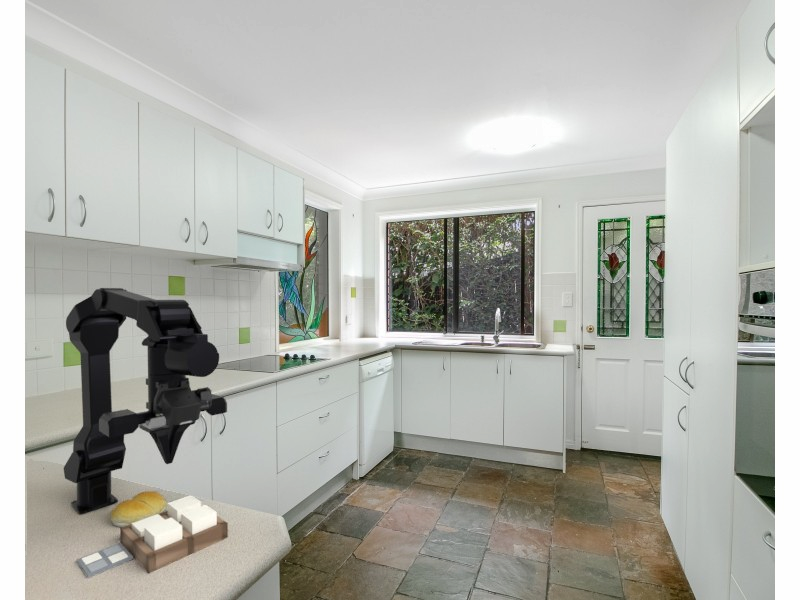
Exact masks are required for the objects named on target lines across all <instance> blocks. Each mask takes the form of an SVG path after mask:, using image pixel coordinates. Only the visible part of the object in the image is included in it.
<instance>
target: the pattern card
mask: <svg viewBox="0 0 800 600" xmlns="http://www.w3.org/2000/svg"><path fill="white" fill-rule="evenodd" d="M133 559H134V557H133V555H132V554H131V553H130V552H129V551H128V550H127V549H126V548H125V547H124V546H123V545H122V544H121V543H120V542H117V543H116V544H113V545H111V546H107V547H106V548H103V549H101V550H98V551H95V552H92V553H90V554H87V555H84V556H82V557H79V558H77V559H76V563H77V565H78V566H79V567H80V569H81V570H82V571H83V574H85V576H86V578H87V579H89V578H91V577H93V576H96V575H98V574H101V573H103V572H105V571H108V570H110V569H113V568H114V567H118V566H119V565H122V564H124V563H127V562H129V561H131V560H133Z"/></svg>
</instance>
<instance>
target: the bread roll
mask: <svg viewBox="0 0 800 600" xmlns="http://www.w3.org/2000/svg"><path fill="white" fill-rule="evenodd" d="M166 510H167V501H166V499H165V497H164V496H163V495H162V494H160V492H156V491H153V490H148V491H147V490H145V491H141V492H139V493H137V494H135V495H134V496H133V497H132V498H131V499H127V500H124V501H121V502H119V503H118V504H117V505H116V506H115V507H113V510H112V512H111V514H110V520H111V522H112V525H113V526H115V527H118V528H122V527H125V526H127V525H130V524H132V523H134V522H137V521H140V520H143V519H145V518H148V517H151V516H154V515H156V514H160V513H163V512H166Z"/></svg>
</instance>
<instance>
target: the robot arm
mask: <svg viewBox="0 0 800 600" xmlns="http://www.w3.org/2000/svg"><path fill="white" fill-rule="evenodd" d="M127 318H129V319H132V320H135V322H136V327H137V328H139V329H140V330H141V331H142V332H144V333H145V334H146V335H147V336H146V337H145V338H144V339H143V341H142V340H141V346H143V347H145V346H146V347H147V378H145V385H146V386H147V398H148V401H146V402H145V409H147V411H140V412H134V411H133V410H131V409H128V408H127V409H120V410H115V411H113V406H112V405H113V404H112V402H113V401H112V381H111V379H112V377H111V356H110V352H111V350H112V348H113V347H114V345H115V344H116V342H117V340H118V339H119V332H120V328H121V326H122V325H123V324H124V322H125V321H126V320H127ZM65 319H66V320H65V327H66V330H67V332H68V335H69V336H68V337H69V341H70V342H71V344H72V345H73V346H74V347H75V348H76V350H77V351H78V352H79V353H80V374H81V377H80V378H81V399H82V400H81V401H82V402H81V403H82V405H81V406H82V427H81V429H80V431H78V434H77V435H76V436H75V438H74V440H73V442H72V443H73V446H72V453H71V454H70V456H69V457H68V459H67V461H66V462H65V465H64V466H63V474H64V479H65V480H68V481H70V482H72V483H74V484H76V499H75V500H73V501H71V502H70V504H71V506H72V507H73V509H74V510H75V511H76V512H77V513H78V514H79V515H83V514H84V513H88V512H91V511H94V510H98V509H102V508H105V507H107V506H110V505H113V504H114V505H115V504H116V503H118V501H119V500H118V498H117V497H116V496H115V495H113V494H112V472H113V471H117V470H121V469H123V465H124V461H125V456H126V455H125V454H126V450H127V448H126V443H125V436H126V435H130V434H133V433H135V432H136V431H137V430H138V428H139V429H140V430H142V431H144V432H146V433H148V434H149V435H150V437H152V439H153V441H154V443H155V445H156V447H157V450H158V451H159V453H160V456H161V457H162V460H163V462H164V463H165V465H170V464H173V462H174V458H175V456H176V453H177V450H178V447H179V444H180V443H181V439H182V437H183V435H184V433H185V431H186V430H187V429H188V428H189V427H190V426H192V425H194V424H195V423H196V421H198V420H199V419H200V417H201V416H200V415H201V412H205V413H207V414H208V415H209V416H216V415H221V414H225V413H228V402H227V400H226V398H225V397H224V396H221V395H217V394H215V393H214V394H213V393H212V389H211V388H209V387H208V386H207V387H201V388H197V389H193V390H192V389H191V386H190V383H191V382H190V378H189V377H187V376H190V377H200V378H204V377H208V376H209V375H211V374H213V373H214V372H215V370H216V369H217V368H218V365H219V362H220V353H219V351H218V349H217V347H216V346H215V345H214V344H213V343H212V342H210V341H209V339H208V338H209V335H208V334H207V333H203V330H202V326H201V325H200V323H199V322H198V320H197V318H196V316H195V314H194V312H193V310H192V308H191V307H190V304H189V302H188V301H186V300H185V299H155V298H151V297H148V296H145V295H141V294H138V293H134V292H131V291H128V290H127V289H124V288H122V287H100V288H97V289H95V290H94V291H93V293H92V294H91V296H89V297H87V298H85V299H83V300H82V301H80V302H78V303H76V304H75V305H73V307H72V309H71V311H70V312H69V313H68V315H67V316H66V318H65Z"/></svg>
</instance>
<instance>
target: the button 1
mask: <svg viewBox="0 0 800 600" xmlns="http://www.w3.org/2000/svg"><path fill="white" fill-rule="evenodd" d="M163 520H165V519H164V518H162V517H161V516H160V515H159V514H156V515H154V516H151V517H148V518H145V519H143V520H140V521H137V522H134V523H132V531H133V532H134V533H135V534H136V535H137V536H138V537H139V538H140V537H143V536H144V528H145V527H147V526H150V525H153V524H155V523H158V522H161V521H163Z"/></svg>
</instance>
